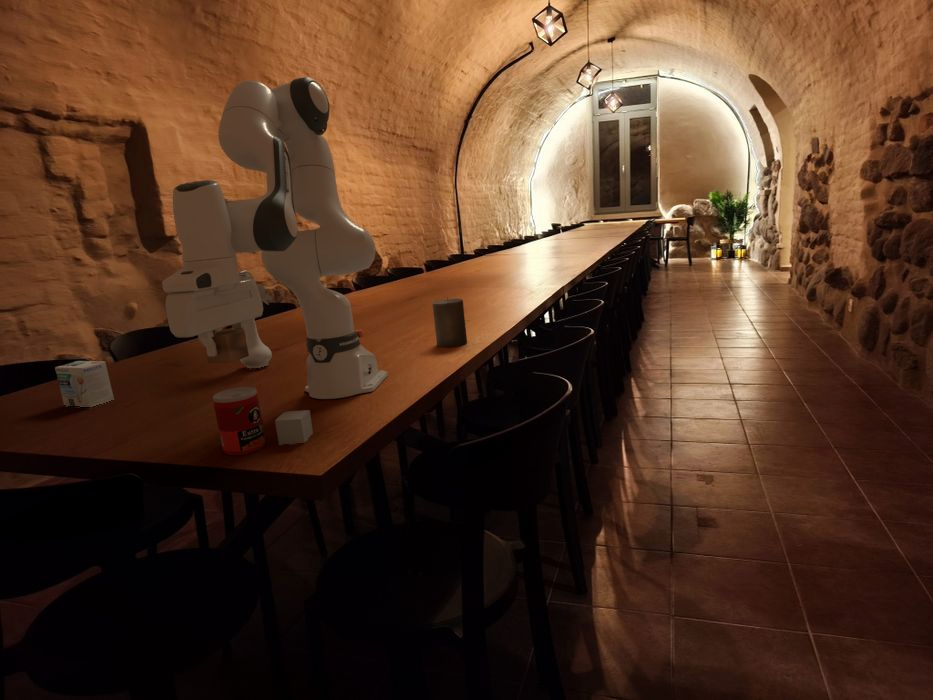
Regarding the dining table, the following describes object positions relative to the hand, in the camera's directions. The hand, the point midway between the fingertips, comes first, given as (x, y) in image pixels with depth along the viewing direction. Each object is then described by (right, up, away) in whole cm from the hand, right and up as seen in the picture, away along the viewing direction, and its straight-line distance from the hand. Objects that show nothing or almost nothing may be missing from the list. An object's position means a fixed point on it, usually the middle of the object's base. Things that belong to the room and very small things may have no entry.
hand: (226, 351), depth 106 cm
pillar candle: (+39, +2, +78) cm, 87 cm away
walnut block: (0, -2, 0) cm, 2 cm away
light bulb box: (-55, -14, +46) cm, 73 cm away
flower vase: (-20, -5, +70) cm, 73 cm away
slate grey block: (+11, -17, +6) cm, 21 cm away
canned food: (+2, -19, +4) cm, 19 cm away
